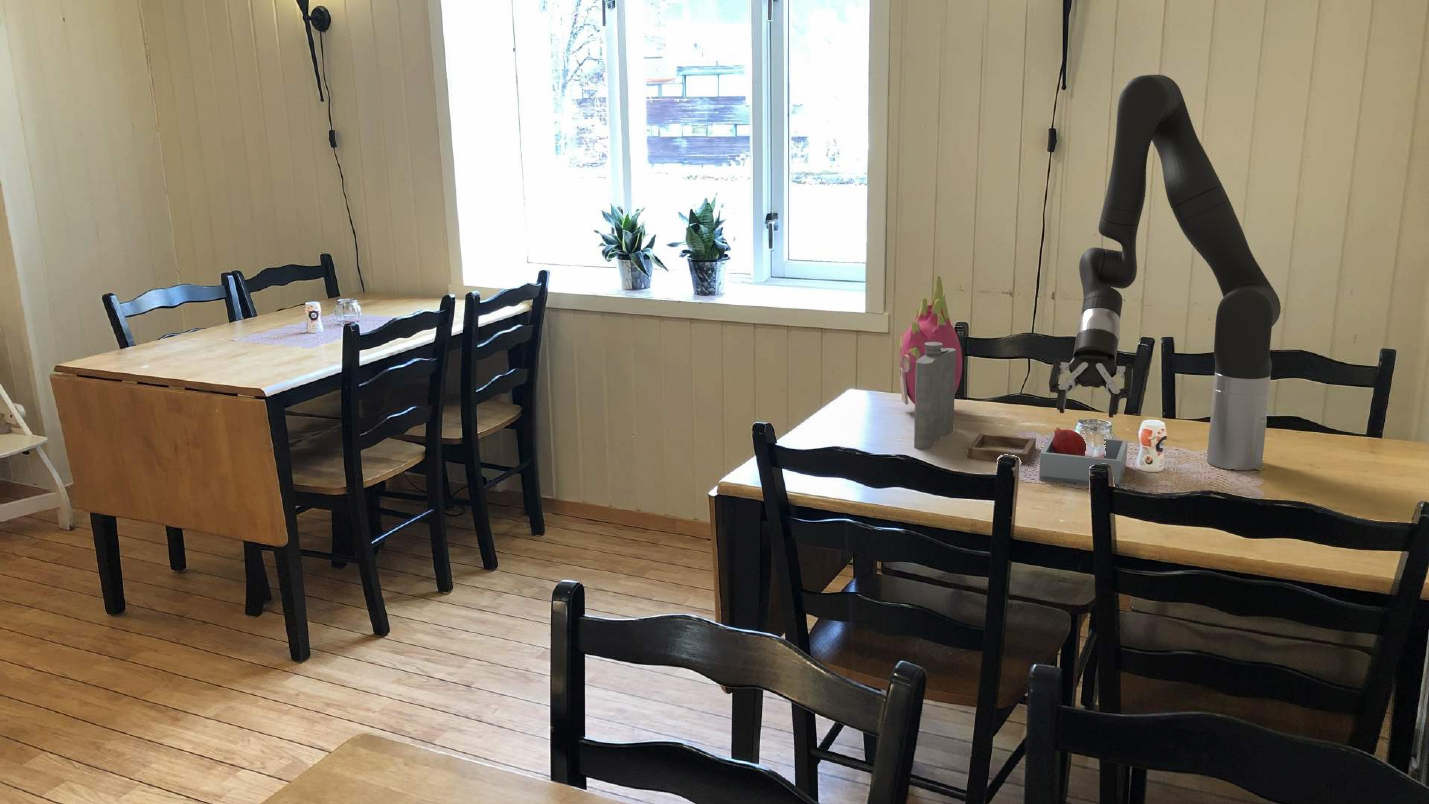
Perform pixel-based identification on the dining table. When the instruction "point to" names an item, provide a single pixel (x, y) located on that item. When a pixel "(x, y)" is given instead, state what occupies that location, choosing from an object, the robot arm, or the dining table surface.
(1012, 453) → the tray
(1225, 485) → the dining table surface
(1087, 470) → the bin
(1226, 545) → the dining table surface
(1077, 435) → the onion
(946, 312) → the pink dragon fruit
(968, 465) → the dining table surface
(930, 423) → the hip flask
